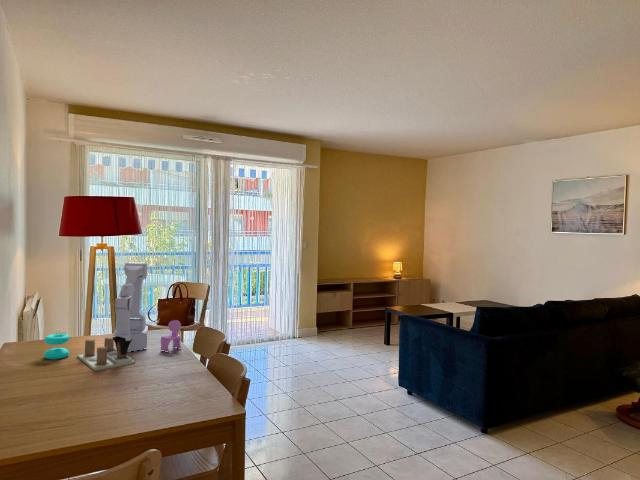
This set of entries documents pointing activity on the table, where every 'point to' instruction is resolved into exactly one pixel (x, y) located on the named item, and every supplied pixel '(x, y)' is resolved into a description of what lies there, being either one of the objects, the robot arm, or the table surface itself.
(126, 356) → the walnut pin
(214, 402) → the table surface
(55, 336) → the donuts
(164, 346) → the toy chair
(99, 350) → the pin board
